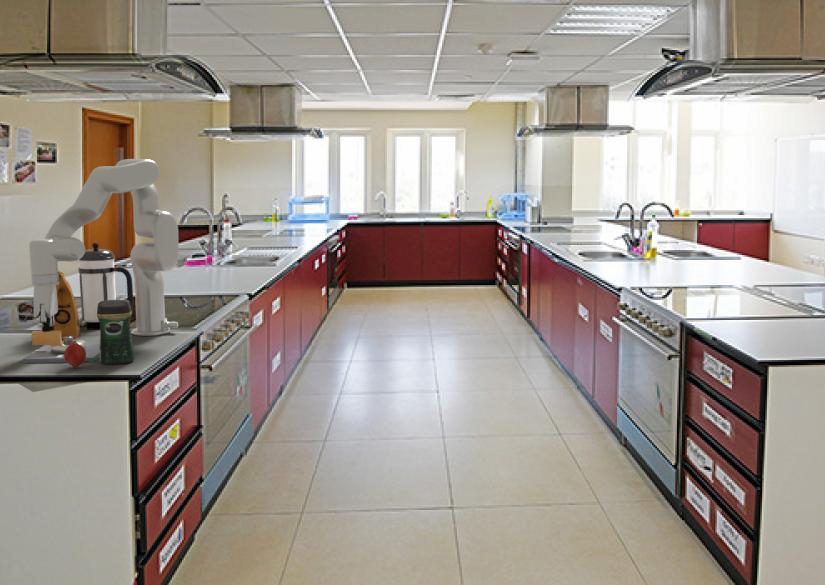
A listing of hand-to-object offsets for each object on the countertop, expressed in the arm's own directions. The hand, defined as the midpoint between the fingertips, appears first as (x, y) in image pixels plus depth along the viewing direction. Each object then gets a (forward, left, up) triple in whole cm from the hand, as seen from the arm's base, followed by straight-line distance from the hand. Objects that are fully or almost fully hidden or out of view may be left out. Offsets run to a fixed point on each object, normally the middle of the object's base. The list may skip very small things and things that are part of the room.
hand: (49, 338), depth 244 cm
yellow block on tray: (-4, +3, -3) cm, 6 cm away
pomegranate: (-13, +20, -5) cm, 24 cm away
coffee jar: (-23, +14, -5) cm, 27 cm away
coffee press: (-3, -48, -5) cm, 49 cm away
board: (-6, +3, -5) cm, 8 cm away
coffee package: (+4, -25, -5) cm, 26 cm away
